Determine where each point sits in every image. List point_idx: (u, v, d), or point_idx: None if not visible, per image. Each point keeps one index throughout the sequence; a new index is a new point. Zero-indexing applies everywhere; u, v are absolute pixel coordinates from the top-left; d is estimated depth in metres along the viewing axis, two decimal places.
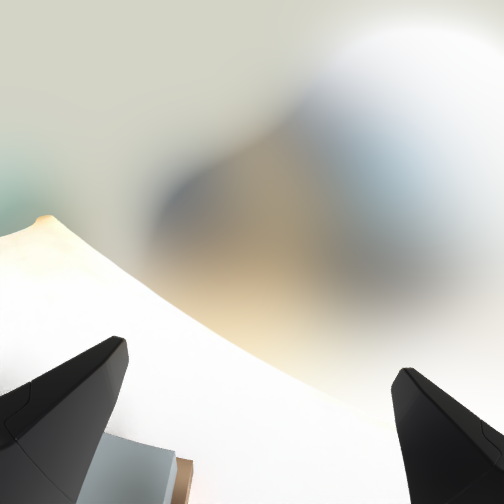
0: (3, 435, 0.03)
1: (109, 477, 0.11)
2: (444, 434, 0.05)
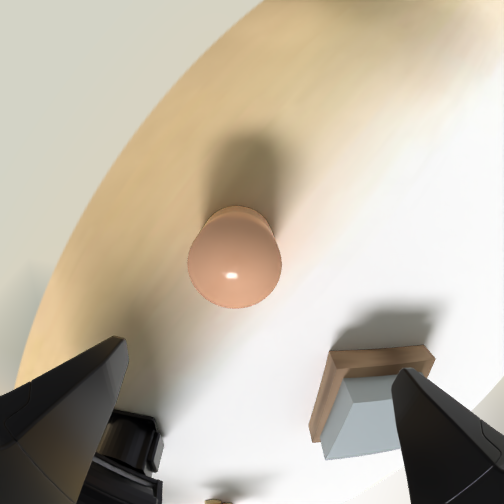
0: (3, 435, 0.03)
1: (385, 432, 0.20)
2: (444, 434, 0.05)
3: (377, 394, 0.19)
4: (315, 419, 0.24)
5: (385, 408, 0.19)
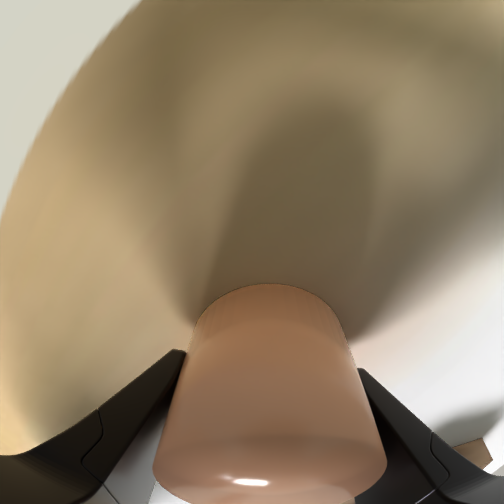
0: (86, 479, 0.03)
1: None
2: (386, 445, 0.05)
3: None
4: None
5: None
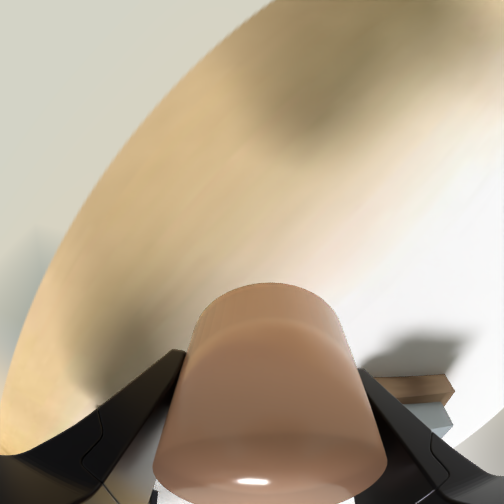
0: (86, 479, 0.03)
1: None
2: (386, 445, 0.05)
3: None
4: None
5: None
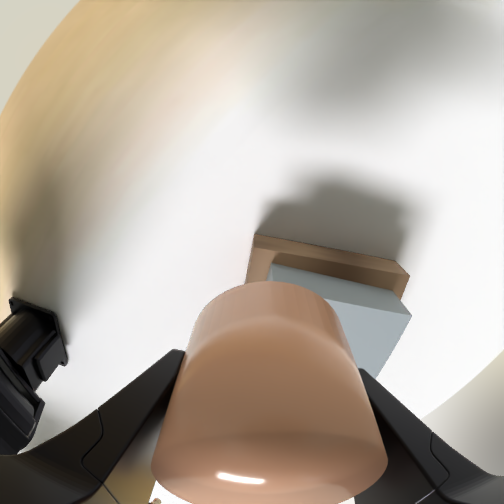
0: (86, 479, 0.03)
1: None
2: (386, 445, 0.05)
3: (317, 290, 0.14)
4: None
5: None
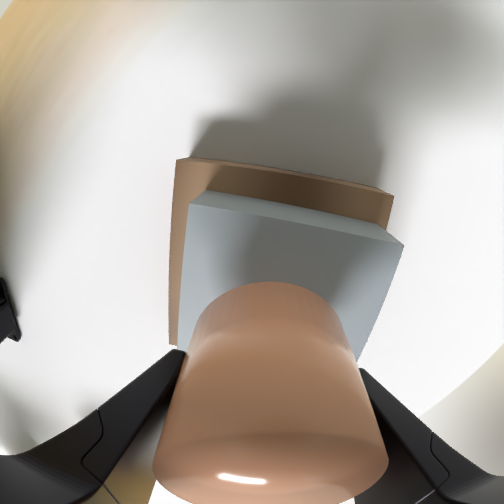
0: (86, 479, 0.03)
1: None
2: (386, 445, 0.05)
3: (256, 210, 0.10)
4: None
5: (276, 247, 0.10)
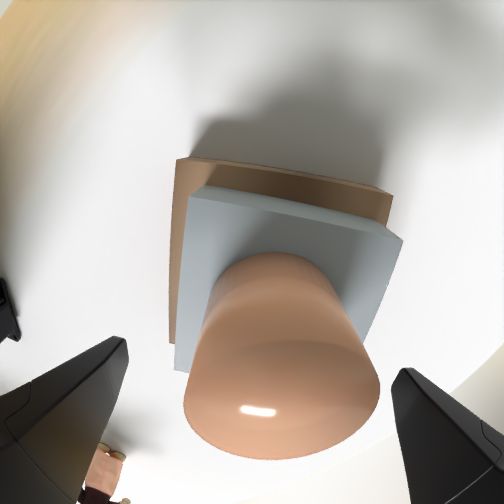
0: (3, 435, 0.03)
1: None
2: (444, 434, 0.05)
3: (255, 204, 0.10)
4: None
5: (276, 241, 0.10)
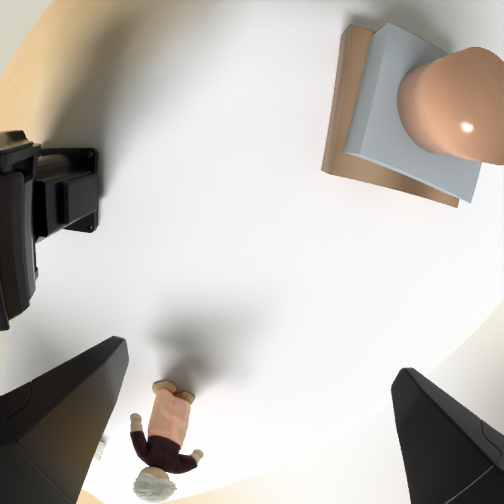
0: (4, 435, 0.03)
1: None
2: (444, 434, 0.05)
3: None
4: (332, 134, 0.17)
5: None
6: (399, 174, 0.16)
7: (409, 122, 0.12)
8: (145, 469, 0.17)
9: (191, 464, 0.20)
